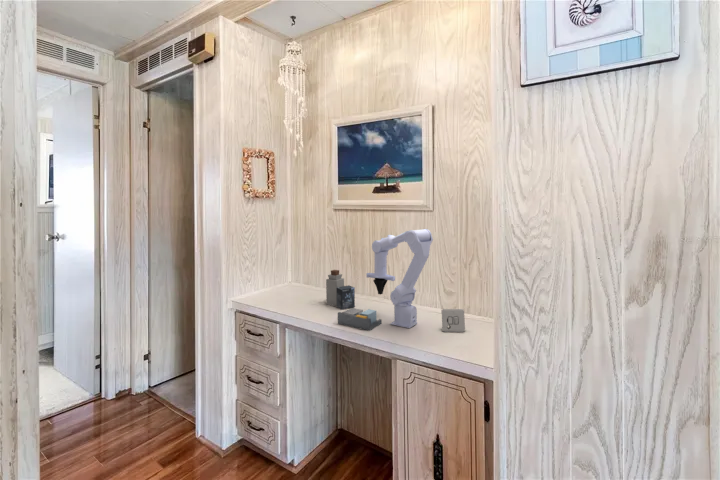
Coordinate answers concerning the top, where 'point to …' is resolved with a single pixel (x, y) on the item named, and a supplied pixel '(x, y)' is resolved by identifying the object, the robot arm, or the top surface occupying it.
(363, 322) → the rack bay
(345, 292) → the box
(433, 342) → the top surface
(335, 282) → the perfume bottle
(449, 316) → the electrical switch
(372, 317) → the pale blue tall block
